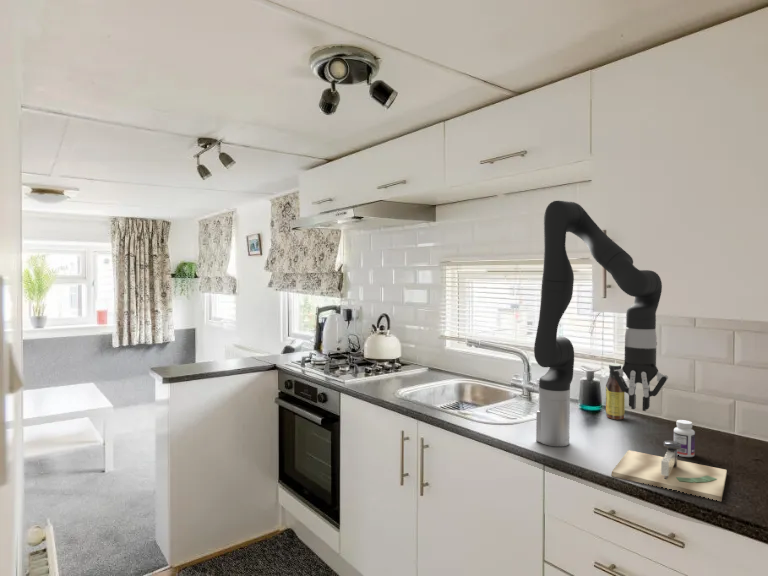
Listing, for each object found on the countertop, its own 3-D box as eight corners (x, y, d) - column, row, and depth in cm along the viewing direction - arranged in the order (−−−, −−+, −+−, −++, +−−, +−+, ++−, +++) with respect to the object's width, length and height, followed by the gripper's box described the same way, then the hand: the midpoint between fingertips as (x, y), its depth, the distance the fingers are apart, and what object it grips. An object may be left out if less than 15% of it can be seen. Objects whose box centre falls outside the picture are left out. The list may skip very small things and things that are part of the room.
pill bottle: (686, 450, 150) (687, 418, 150) (698, 457, 145) (699, 424, 145) (669, 451, 150) (669, 419, 150) (680, 457, 145) (681, 424, 144)
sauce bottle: (612, 414, 188) (613, 362, 188) (628, 418, 183) (629, 364, 183) (601, 417, 185) (602, 363, 184) (617, 421, 180) (618, 366, 179)
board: (611, 476, 132) (611, 470, 131) (628, 454, 147) (628, 449, 147) (721, 501, 117) (721, 495, 117) (726, 474, 133) (726, 469, 133)
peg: (664, 461, 138) (665, 439, 138) (681, 464, 136) (681, 442, 135) (655, 477, 127) (656, 454, 127) (673, 481, 125) (674, 457, 124)
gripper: (609, 344, 134) (608, 408, 135) (667, 349, 126) (666, 417, 126) (615, 341, 140) (614, 402, 141) (672, 345, 132) (670, 410, 132)
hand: (639, 409), depth 133 cm, fingers closed
